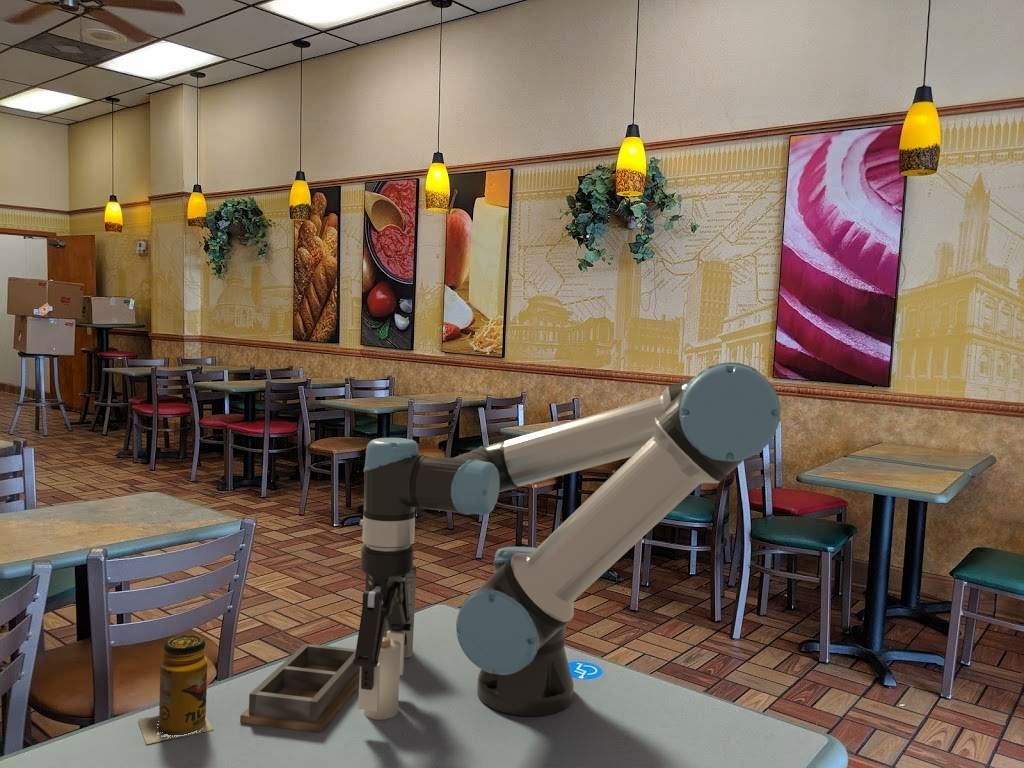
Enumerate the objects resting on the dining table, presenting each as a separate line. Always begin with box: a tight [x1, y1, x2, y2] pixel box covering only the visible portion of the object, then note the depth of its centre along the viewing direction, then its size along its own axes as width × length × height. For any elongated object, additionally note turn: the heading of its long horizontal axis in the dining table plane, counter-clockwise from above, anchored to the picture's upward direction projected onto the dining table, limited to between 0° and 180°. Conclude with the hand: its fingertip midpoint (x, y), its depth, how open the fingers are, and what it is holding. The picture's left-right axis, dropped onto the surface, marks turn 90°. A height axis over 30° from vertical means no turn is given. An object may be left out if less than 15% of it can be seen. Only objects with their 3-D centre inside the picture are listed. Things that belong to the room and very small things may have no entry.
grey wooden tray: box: [239, 643, 360, 734], centre depth 119 cm, size 12×20×4 cm, turn 171°
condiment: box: [137, 634, 214, 745], centre depth 108 cm, size 7×8×12 cm
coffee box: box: [365, 564, 418, 659], centre depth 138 cm, size 9×6×16 cm
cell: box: [363, 637, 401, 721], centre depth 116 cm, size 5×5×11 cm
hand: (381, 690), depth 116 cm, fingers open, 11 cm apart
